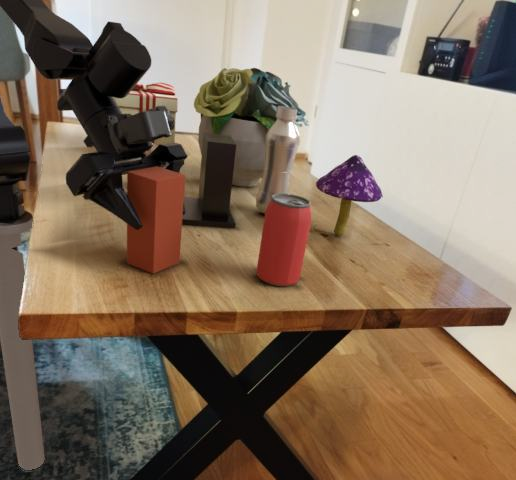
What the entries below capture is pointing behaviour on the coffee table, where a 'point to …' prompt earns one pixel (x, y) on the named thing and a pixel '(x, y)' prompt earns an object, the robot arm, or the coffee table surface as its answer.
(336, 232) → the decorative mushroom
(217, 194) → the seat plate
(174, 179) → the tall terracotta column
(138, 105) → the gift box
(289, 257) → the beer can
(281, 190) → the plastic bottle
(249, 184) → the flower arrangement
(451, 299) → the coffee table surface
